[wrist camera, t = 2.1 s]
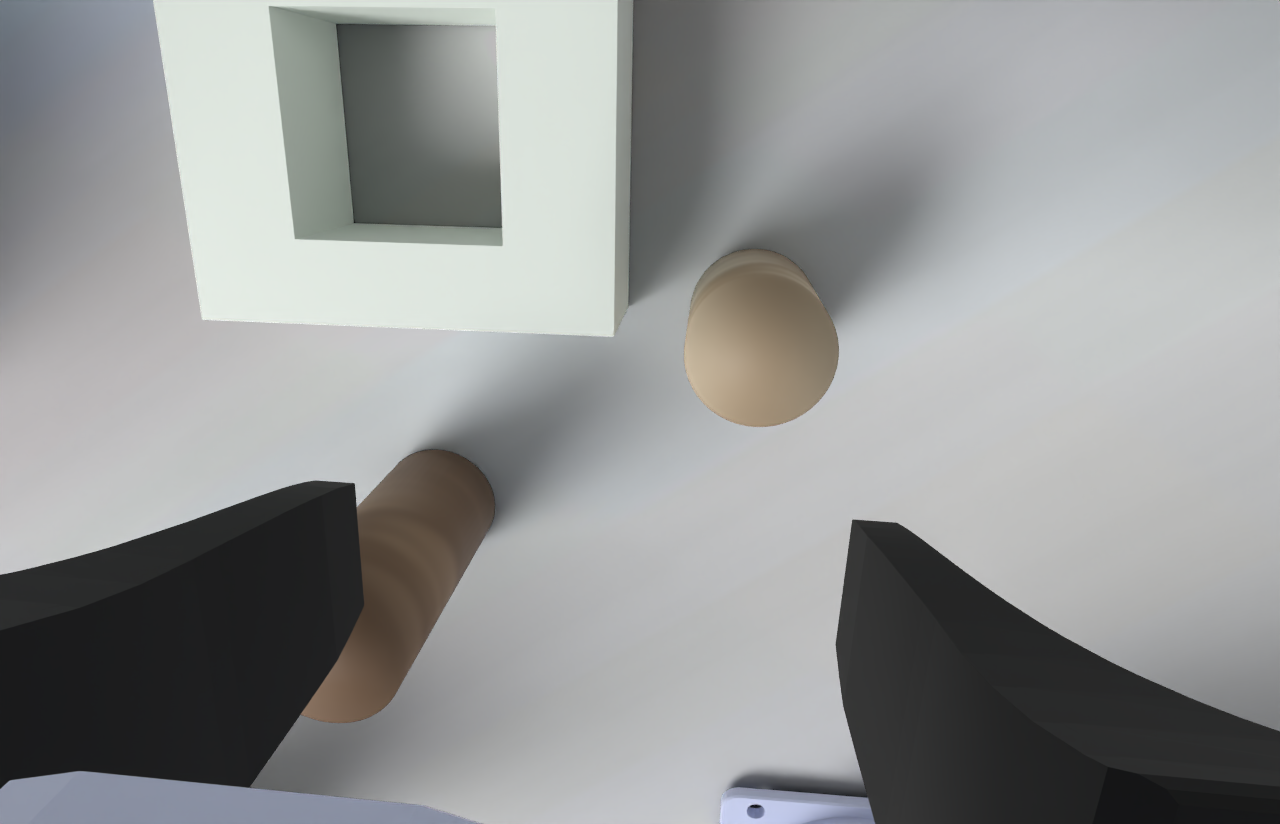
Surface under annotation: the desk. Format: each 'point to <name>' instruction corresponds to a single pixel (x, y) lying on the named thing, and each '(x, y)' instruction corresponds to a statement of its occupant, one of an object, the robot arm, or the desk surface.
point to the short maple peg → (758, 340)
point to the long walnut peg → (405, 576)
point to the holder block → (320, 181)
